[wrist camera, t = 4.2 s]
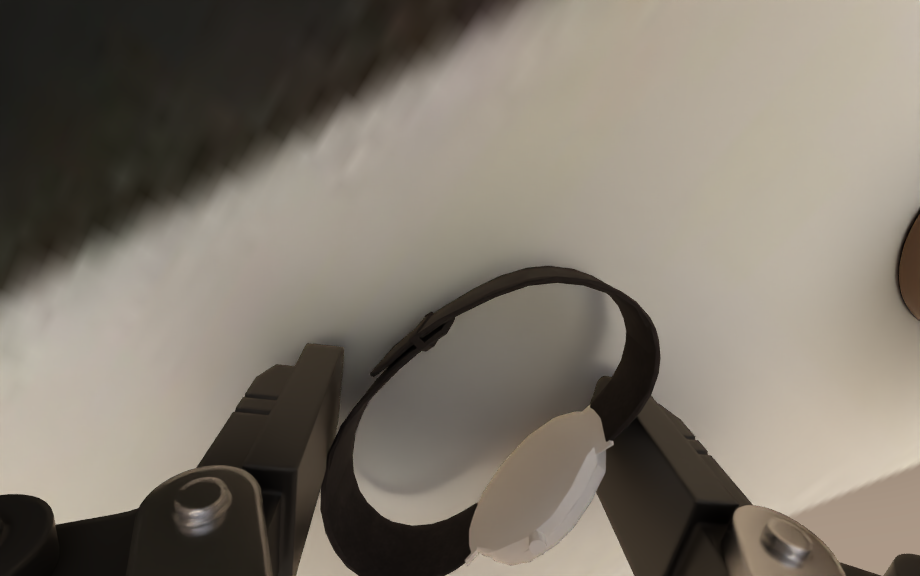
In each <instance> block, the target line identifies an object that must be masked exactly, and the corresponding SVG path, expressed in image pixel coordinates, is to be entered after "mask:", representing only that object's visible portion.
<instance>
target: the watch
mask: <svg viewBox="0 0 920 576" xmlns="http://www.w3.org/2000/svg"><path fill="white" fill-rule="evenodd" d="M551 283H564V284H574V285H584V286H587V287H590V288H593V289H596V290H599V291H602V292H604V293H607V294H608V295H609V296H610V297H611V298H612V299H613V300H614V301H615V303H616V304H617V305H618V307H619V309H620V311H621V313H622V316H623V318H624V322H625V327H626V343H625V347H624V351H623V355H622V359H621V361H620V363H619V365H618V367H617V369H616V371H615V373H614V374H613V376H612V378H611V380H610V382H609V383H608V384H607V385H606V386H605V388H604V389H603V390H602V391H601V392H600V393H599V395H598V396H597V397H596V398H595V399H594V400H593V402H592V403H591V404H590V405H589V406H588V407H587V408H586V409H584V410H583V411H582V412H576V411H575V412H571V413H568V414H564V415H561V416H557V417H555V418H553V419H552V420H550V421H549V422H547V423H546V424H544V425H543V426H541V427H540V428H538V429H537V430H535V431H534V432H533V433H531V434H530V435H529V436H527V437H526V438H525V439H524V440H523V441H522V443H521V444H520V445H519V446H518V447H517V448H516V449H515V450H514V451H513V452H512V453H511V454H510V456H509V457H508V458H507V459H506V460H505V461H504V462H503V463H502V464H501V466H500V467H499V469H498V470H497V472H496V473H495V475H494V476H493V478H492V479H491V481H490V483H489V484H488V486H487V487H486V489H485V490H484V492H483V493H482V496H481V499H480V500H479V501H478V502H477V503H476V504H474V505H472V506H471V507H469V508H467V509H466V510H464V511H462V512H461V513H459V514H457V515H455V516H453V517H451V518H449V519H447V520H443V521H440V522H437V523H434V524H427V525H417V526H410V525H405V524H400V523H395V522H392V521H390V520H388V519H386V518H384V517H383V516H381V515H380V514H379V513H378V512H377V511H376V510H375V509H374V508H373V507H372V506H371V505H369V504H368V503H367V501H366V500H365V498H364V496H363V495H362V493H361V492H360V490H359V487H358V484H357V481H356V478H355V475H354V470H353V448H354V440H355V433H356V430H357V427H358V424H359V421H360V419H361V416H362V414H363V412H364V410H365V408H366V406H367V404H368V402H369V401H370V399H371V398H372V397H373V396H374V395H375V394H376V393H377V392H378V391H379V390H380V389H381V388H382V387H383V386H384V385H385V384H386V383H387V382H388V381H389V380H390V379H391V378H392V377H393V376H394V375H395V374H396V373H397V372H398V371H399V370H400V369H401V368H402V367H403V366H404V365H405V364H407V363H408V362H409V361H410V360H411V359H412V358H414V357H415V356H416V355H417V354H418V353H420V352H421V351H428V350H429V349H431V348H432V347H434V346H435V344H436V343H437V341H438V339H440V338H441V337H443V336H444V335H446V334H447V333H448V331H449V329H450V327H451V325H452V324H453V322H454V320H455V317H456V316H458V315H460V314H462V313H464V312H466V311H468V310H470V309H472V308H474V307H476V306H478V305H480V304H482V303H485V302H487V301H489V300H491V299H493V298H495V297H498V296H501V295H503V294H506V293H509V292H512V291H515V290H518V289H521V288H524V287H527V286H532V285H541V284H551ZM659 366H660V346H659V339H658V335H657V331H656V328H655V326H654V324H653V322H652V320H651V318H650V317H649V316H648V314H647V313H646V312H645V311H644V310H643V309H642V308H641V307H640V305H639V304H638V303H637V302H636V301H635V300H633V299H632V298H630V297H629V296H627V295H626V294H624V293H623V292H621V291H619V290H617V289H615V288H613V287H611V286H610V285H608V284H606V283H604V282H602V281H601V280H599V279H597V278H595V277H593V276H592V275H589V274H586V273H583V272H580V271H577V270H574V269H570V268H562V267H554V266H541V267H531V268H525V269H521V270H518V271H515V272H512V273H508V274H505V275H502V276H499V277H497V278H495V279H493V280H491V281H489V282H487V283H485V284H483V285H480V286H478V287H476V288H474V289H473V290H471V291H469V292H467V293H466V294H464V295H462V296H461V297H459V298H457V299H456V300H454V301H452V302H451V303H449V304H448V305H446V306H444V307H443V308H441V309H439V310H438V311H436V312H435V313H433V312H430V313H429V314H427V315H426V316H425V318H424V319H423V320H422V321H421V322H420V323H419V325H418V326H417V327H416V328H415V329H414V330H413V331H411V332H410V333H409V334H408V335H407V336H406V337H405V338H403V339H402V340H401V341H400V342H399V343H398V344H396V345H395V346H394V347H393V348H392V349H391V350H390V351H389V353H388V354H387V355H386V356H385V357H384V358H383V359H382V360H381V362H380V363H379V364H378V365H377V366H376V367H375V368H374V369H373V370H372V372H371V373H370V375H371V376H373V377H375V376H376V375H377V374H379V373H380V372H382V371H383V370H384V369H385V368H386V369H385V370H384V371H383V373H382V374H381V375H380V376H379V377H378V378H377V379H376V380H375V382H374V383H373V385H372V386H371V387H370V388H369V390H368V391H367V392H366V393H365V395H364V396H363V397H362V398H361V399H360V401H359V402H358V403H357V404H356V406H355V407H354V408H353V409H352V411H351V412H350V414H349V415H348V416H347V418H346V419H345V421H344V422H343V423H342V425H341V426H340V429H339V431H338V433H337V435H336V437H335V439H334V441H333V444H332V446H331V448H330V450H329V453H328V458H327V467H326V471H325V475H324V478H323V482H322V485H321V508H320V509H321V514H322V518H323V523H324V528H325V532H326V534H327V537H328V539H329V541H330V543H331V545H332V547H333V549H334V551H335V553H336V554H337V555H338V556H339V558H340V559H341V560H342V561H343V563H344V564H345V565H346V567H347V568H349V569H350V570H352V571H353V572H354V573H356V574H357V575H359V576H445V575H447V574H449V573H451V572H453V571H455V570H456V569H458V568H459V567H460V566H462V565H463V564H464V563H466V565H467V566H468V564H469V563H470V562H471V561H472V560H473V559H474V558H475V557H476V556H477V555H478V554H479V553H481V554H482V555H484V556H489V557H492V558H493V560H494V561H497V562H500V563H504V564H508V565H516V564H522V563H527V562H531V561H533V560H534V559H536V558H537V557H539V556H540V555H543V554H544V553H545V552H546V551H548V550H549V549H551V548H552V547H554V546H555V545H557V544H558V543H559V542H560V541H561V540H562V539H563V538H564V537H565V536H566V535H567V534H568V533H569V532H570V531H571V530H572V529H573V528H574V526H575V525H576V523H577V522H578V520H579V519H580V517H581V516H582V514H583V513H584V512H585V510H586V509H587V507H588V506H589V504H590V503H591V501H592V499H593V497H594V495H595V493H596V491H597V489H598V487H599V485H600V483H601V481H602V479H603V477H604V475H605V473H606V449H608V448H610V447H611V446H613V445H614V443H613V440H614V439H616V438H617V437H618V436H619V435H620V434H621V433H622V432H624V431H625V429H626V428H627V427H628V426H629V425H630V424H631V422H632V421H633V420H634V419H635V418H636V417H637V415H638V414H639V413H640V412H641V411H642V409H643V407H644V406H645V404H646V402H647V401H648V399H649V398H650V396H651V394H652V391H653V388H654V385H655V382H656V380H657V377H658V374H659Z"/></svg>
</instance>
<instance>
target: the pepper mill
mask: <svg viewBox="0 0 920 576" xmlns="http://www.w3.org/2000/svg"><path fill="white" fill-rule="evenodd" d="M899 283H900V290H901V293H902V297H903V299H904V301H905V304H906V306H907V307H908V308H909V310H910V311H911V312H912V314H913V315H914V316H915V317H916V318H918V319H919V320H920V214H919V215H918V217H917V219H916V221H915V222H914V224H913V226H912V228H911V230H910V232H909V234H908V237H907V239H906V241H905V244H904V248H903V251H902V255H901V260H900V265H899Z"/></svg>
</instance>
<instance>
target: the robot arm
mask: <svg viewBox="0 0 920 576" xmlns="http://www.w3.org/2000/svg"><path fill="white" fill-rule="evenodd" d="M343 363H344V347H338V346H329V345H320V344H311V343H307V344H306V346H305V348H304V349H303V351H302V353H301V355H300V357H299V359H298V361H297V363H296V365H295V366H289V365H279V364H276V365H274V366H273V367H271V368H270V369H268V370H266V371H265V372H263V373H262V374H260V375H259V376H257V377H256V378H255V380H254V381H253V383H252V384H251V386H250V387H249V389H248V390H247V392H246V393H245V397H243V398H242V399H241V401H240V402H239V404H238V405H237V407H236V410H235V412H233V413H232V415H231V416H230V418H229V419H228V421H227V422H226V424H225V425H224V427H223V428H222V430H221V431H220V433H219V434H218V436H217V437H216V439H215V440H214V442H213V443H212V445H211V446H210V448H209V449H208V451H207V452H206V454H205V456H204V457H203V459H202V460H201V462H200V463H199V465H198V466H197V468H195V469H191V470H188V471H185V472H183V473H180V474H178V475H176V476H174V477H172V478H170V479H168V480H167V481H165V482H163V483H162V484H160V485H159V486H158V487H156V488H155V489H154V490H153V491H152V492H151V493H150V494H149V495H148V496H147V497H146V498H145V499H144V501H143V502H142V503H141V505H140V507H139V508H138V509H134V510H131V511H128V512H123V513H119V514H114V515H108V516H103V517H97V518H92V519H86V520H80V521H75V522H69V523H63V524H58V525H55V520H54V515H53V512H52V509H51V507H50V506H49V505H48V504H47V503H46V502H45V501H43V500H42V499H40V498H37V497H34V496H29V495H22V494H8V495H0V576H296V573H297V569H298V566H299V562H300V559H301V555H302V552H303V548H304V545H305V541H306V538H307V534H308V531H309V527H310V524H311V520H312V517H313V513H314V510H315V506H316V503H317V499H318V496H319V492H320V489H321V485H322V482H323V478H324V475H325V471H326V467H327V458H328V453H329V450H330V448H331V446H332V444H333V441H334V439H335V435H336V430H337V425H338V418H339V410H340V398H341V386H342V375H343ZM611 378H612V377H609V376H603V377H601V378H600V379H599V380H598V382H597V384H596V387H595V390H594V394H593V397H592V400H591V403H592V402H593V400H594V399H595V398H596V397H597V396H598V395H599V393H600V392H601V391H602V390H603V389H604V388H605V386H606V385H607V384H608V383H609V382H610V380H611ZM591 403H590V404H591ZM613 443H614V445H613V446H611V447H610V448H608V449H606V473H605V475H604V477H603V479H602V481H601V483H600V485H599V487H598V489H597V491H596V492H597V495H598V497H599V499H600V501H601V503H602V506H603V508H604V510H605V512H606V514H607V517H608V519H609V521H610V523H611V525H612V528H613V530H614V532H615V534H616V536H617V538H618V541H619V543H620V545H621V547H622V549H623V552H624V554H625V556H626V558H627V560H628V563H629V565H630V567H631V569H632V571H633V574H634V576H880V575H877V574H874V573H871V572H868V571H865V570H862V569H859V568H856V567H853V566H849V565H847V564H843V563H840V562H839V561H838V560H837V558H836V557H835V555H834V554H833V553H832V551H831V550H830V549H829V548H828V547H827V546H826V544H825V543H824V542H823V541H822V540H820V539H819V538H818V537H817V536H816V535H815V534H813V533H812V532H811V531H810V530H808V529H807V528H806V527H804V526H803V525H801V524H800V523H798V522H797V521H795V520H793V519H791V518H790V517H788V516H786V515H784V514H782V513H780V512H777V511H774V510H772V509H769V508H765V507H761V506H756V505H752V503H751V502H750V501H749V500H748V499H747V497H746V496H745V495H744V494H743V493H742V492H741V490H740V489H739V488H738V487H737V486H736V484H735V483H734V482H733V481H732V480H731V479H730V477H729V476H728V475H727V474H726V473H725V471H724V470H723V469H722V468H721V467H720V466H719V464H718V463H717V462H716V461H715V460H714V458H713V457H712V456H711V455H708V454H707V452H708V451H707V450H706V449H705V448H704V447H703V445H702V444H701V443H700V442H699V441H698V440H695V436H694V435H693V434H692V433H691V431H690V430H689V429H688V428H687V427H686V425H685V424H684V423H683V422H682V421H681V420H680V419H679V418H678V417H676V416H675V415H674V414H672V413H671V412H670V411H668V410H667V409H665V408H664V407H663V406H661V405H660V404H658V403H657V402H656V401H655V400H654V399H653V397H652V396H650V398H649V399H648V401H647V402H646V404H645V406H644V407H643V409H642V411H641V412H640V413H639V414H638V415H637V417H636V418H635V419H634V420H633V421H632V422H631V424H630V425H629V426H628V427H627V428H626V429H625V431H624V432H622V433H621V434H620V435H619V436H618V437H617V438H616V439H614V440H613ZM884 576H920V556H919V555H915V554H901V555H898V556H897V557H896V558H895V559H894V561H893V562H892V564H891V565H890V567H889V568H888V570H887V571H886V573H885V574H884Z"/></svg>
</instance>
